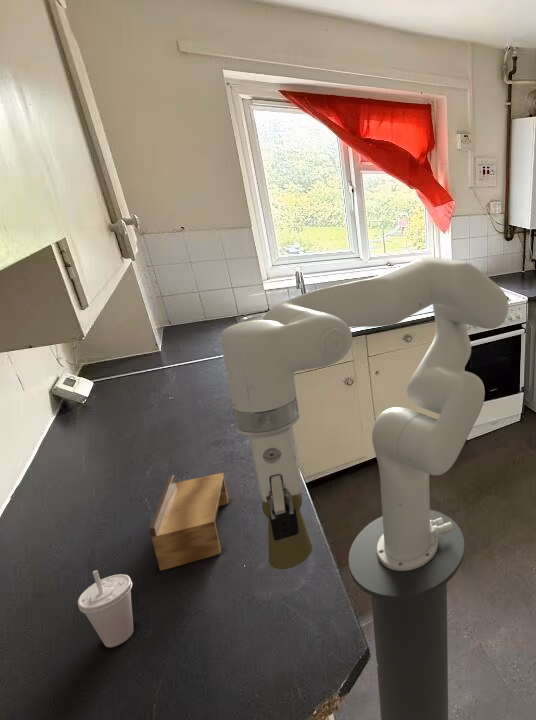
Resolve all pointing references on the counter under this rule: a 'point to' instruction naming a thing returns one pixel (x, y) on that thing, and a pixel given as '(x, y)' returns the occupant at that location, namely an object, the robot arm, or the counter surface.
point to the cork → (289, 540)
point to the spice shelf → (188, 520)
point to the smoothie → (109, 608)
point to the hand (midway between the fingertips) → (285, 521)
